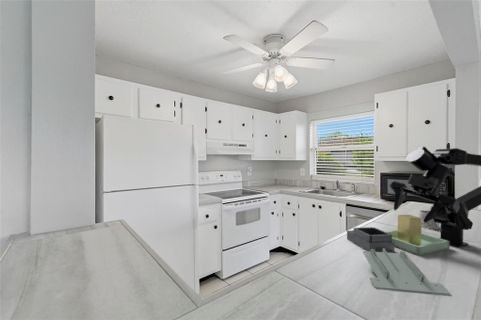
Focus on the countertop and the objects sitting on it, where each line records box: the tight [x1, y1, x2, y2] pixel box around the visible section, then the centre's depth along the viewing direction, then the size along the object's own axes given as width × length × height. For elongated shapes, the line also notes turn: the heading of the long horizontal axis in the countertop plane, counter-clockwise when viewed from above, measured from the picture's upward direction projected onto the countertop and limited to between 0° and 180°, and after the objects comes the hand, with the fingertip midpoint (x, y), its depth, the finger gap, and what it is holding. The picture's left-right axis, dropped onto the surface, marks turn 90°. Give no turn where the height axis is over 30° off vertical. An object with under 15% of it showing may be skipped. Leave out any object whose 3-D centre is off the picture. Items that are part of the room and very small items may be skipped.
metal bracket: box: [362, 248, 451, 297], centre depth 52 cm, size 14×6×15 cm
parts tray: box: [384, 229, 451, 257], centre depth 73 cm, size 16×14×2 cm
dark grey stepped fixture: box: [346, 226, 395, 253], centre depth 72 cm, size 8×12×5 cm
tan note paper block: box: [397, 214, 422, 245], centre depth 73 cm, size 4×4×9 cm
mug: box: [418, 209, 440, 230], centre depth 94 cm, size 10×7×7 cm, turn 147°
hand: (408, 215), depth 73 cm, fingers open, 9 cm apart
